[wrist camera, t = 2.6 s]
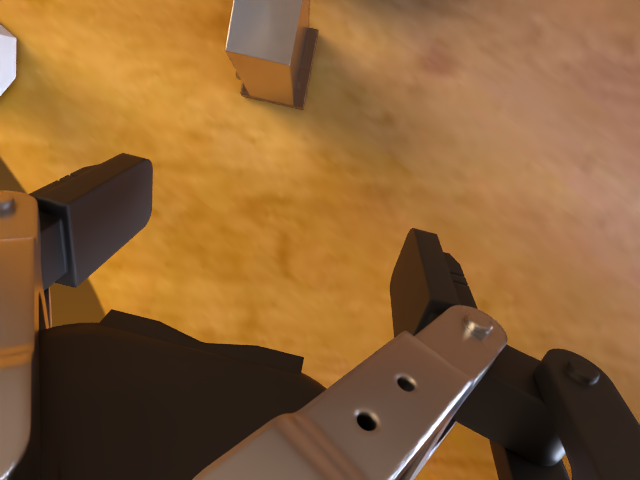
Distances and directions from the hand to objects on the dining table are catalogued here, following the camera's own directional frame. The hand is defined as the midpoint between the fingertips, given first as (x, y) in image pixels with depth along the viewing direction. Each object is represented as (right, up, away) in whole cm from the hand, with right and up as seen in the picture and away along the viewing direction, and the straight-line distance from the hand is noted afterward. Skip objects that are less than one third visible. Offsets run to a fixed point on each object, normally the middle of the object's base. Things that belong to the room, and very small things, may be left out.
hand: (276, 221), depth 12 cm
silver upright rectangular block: (-2, +13, +19) cm, 23 cm away
